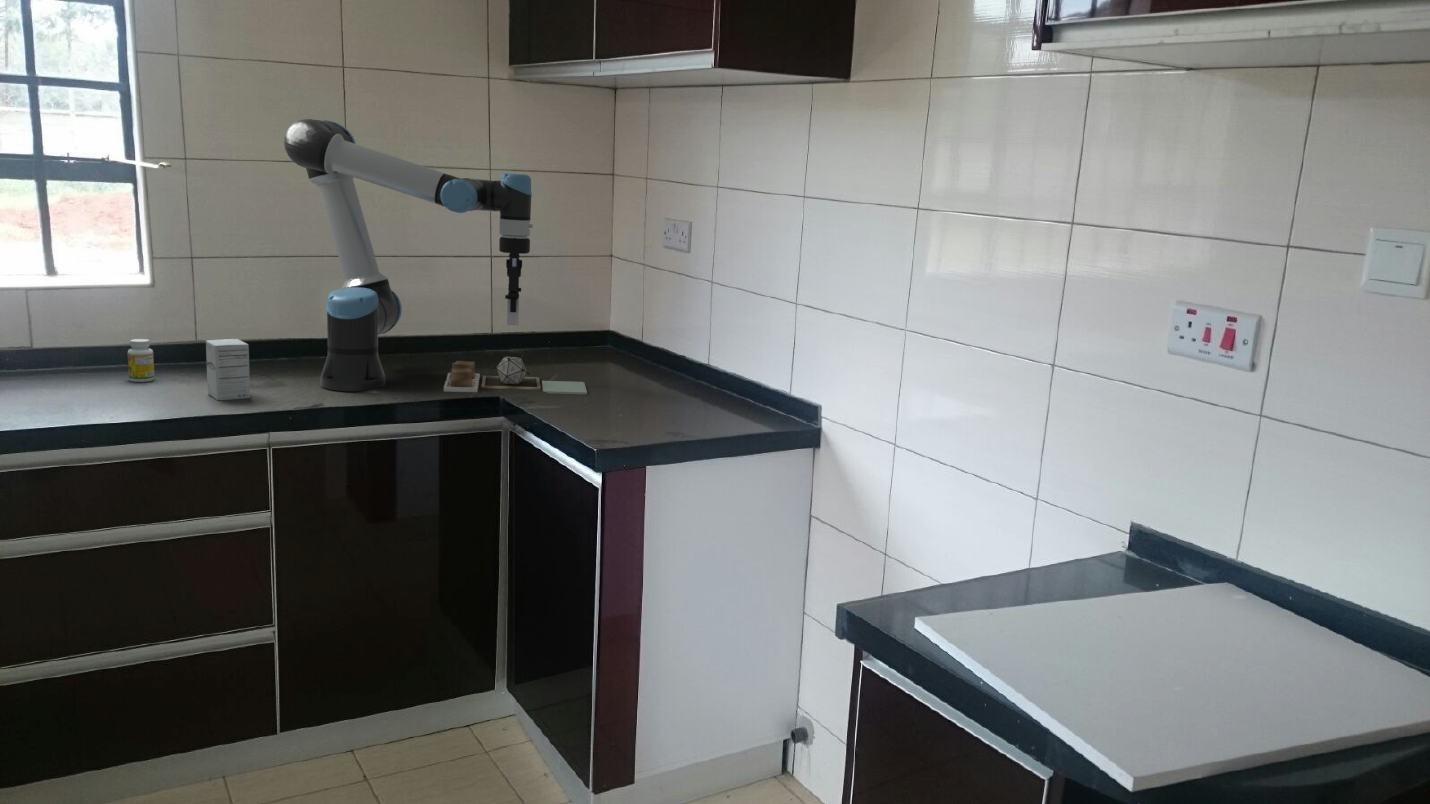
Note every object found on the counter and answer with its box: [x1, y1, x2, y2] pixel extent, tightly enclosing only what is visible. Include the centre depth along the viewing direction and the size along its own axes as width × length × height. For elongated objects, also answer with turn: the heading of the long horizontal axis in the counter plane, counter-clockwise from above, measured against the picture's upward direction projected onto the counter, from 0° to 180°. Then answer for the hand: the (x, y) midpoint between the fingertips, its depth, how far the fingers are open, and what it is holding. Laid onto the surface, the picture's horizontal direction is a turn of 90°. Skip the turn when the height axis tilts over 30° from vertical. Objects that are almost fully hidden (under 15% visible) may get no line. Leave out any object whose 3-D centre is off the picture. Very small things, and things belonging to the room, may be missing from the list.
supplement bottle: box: [127, 338, 155, 383], centre depth 251 cm, size 5×5×10 cm
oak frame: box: [480, 375, 542, 391], centre depth 273 cm, size 15×14×1 cm
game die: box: [492, 353, 531, 386], centre depth 273 cm, size 9×8×10 cm
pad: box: [541, 380, 588, 396], centre depth 274 cm, size 11×13×1 cm
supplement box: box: [205, 338, 251, 401], centre depth 241 cm, size 7×7×13 cm
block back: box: [451, 360, 476, 379], centre depth 273 cm, size 4×4×4 cm
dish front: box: [443, 380, 480, 393], centre depth 264 cm, size 8×8×2 cm
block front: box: [450, 368, 472, 387], centre depth 263 cm, size 4×4×4 cm
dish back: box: [445, 372, 481, 383], centre depth 273 cm, size 8×8×2 cm
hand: (512, 321), depth 270 cm, fingers open, 13 cm apart
